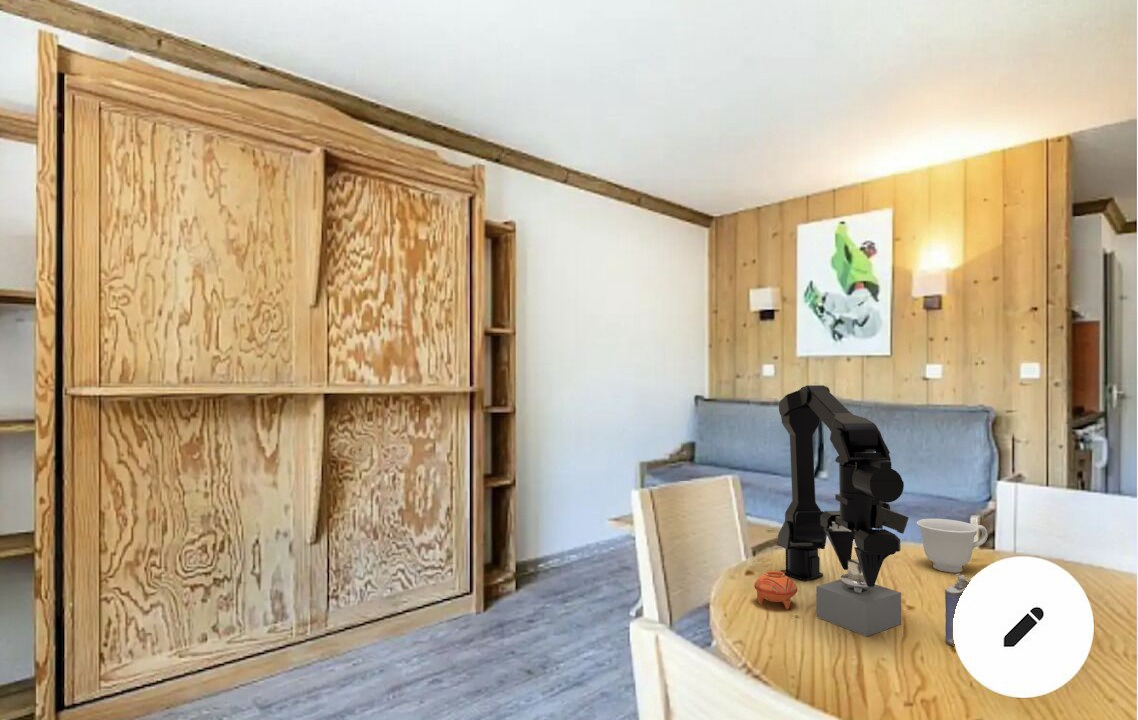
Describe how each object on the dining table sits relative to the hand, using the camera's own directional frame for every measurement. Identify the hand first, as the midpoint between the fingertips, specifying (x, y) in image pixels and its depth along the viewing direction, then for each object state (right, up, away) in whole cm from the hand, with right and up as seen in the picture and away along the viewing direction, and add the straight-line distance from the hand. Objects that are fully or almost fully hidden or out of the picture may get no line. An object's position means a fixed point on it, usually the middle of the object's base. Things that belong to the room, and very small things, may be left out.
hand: (857, 577), depth 112 cm
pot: (-12, -8, +8) cm, 17 cm away
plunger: (0, -8, 0) cm, 8 cm away
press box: (0, -8, 0) cm, 8 cm away
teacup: (+35, -8, +29) cm, 46 cm away
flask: (+14, -8, -8) cm, 18 cm away
